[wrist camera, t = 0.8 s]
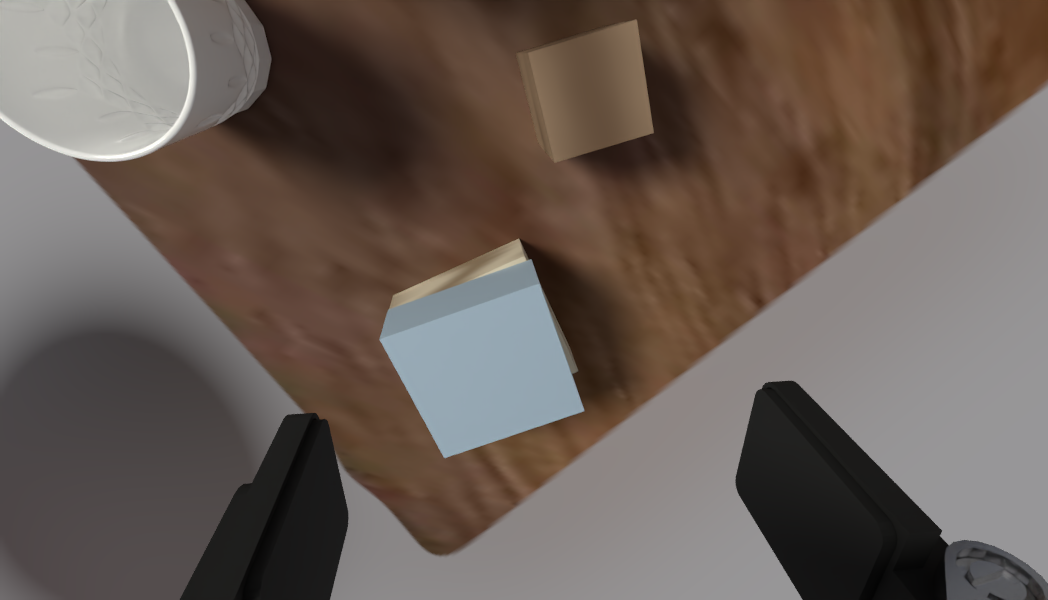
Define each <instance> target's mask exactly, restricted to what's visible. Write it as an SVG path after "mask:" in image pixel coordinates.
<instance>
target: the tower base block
mask: <svg viewBox="0 0 1048 600" xmlns="http://www.w3.org/2000/svg"><path fill="white" fill-rule="evenodd" d="M528 260H529V259H528V257H527V254H526V252H525V250H524V248H523V246H522V244H521V242H520V239H517V240H515V241H513V242H510V243H508V244H506V245H504V246H502V247H499V248H497V249H495V250H493V251H491V252H488V253H486V254H484V255H482V256H479V257H477V258H475V259H473V260H471V261H468V262H466V263H464V264H462V265H460V266H457V267H455V268H453V269H451V270H449V271H446V272H444V273H442V274H440V275H437V276H435V277H433V278H431V279H429V280H426V281H424V282H422V283H420V284H418V285H415V286H413V287H411V288H409V289H407V290H404V291H402V292H400V293H398V294H396V295H393V298H392V302H391V305H390V309H391V308H394V307H397V306H400V305H403V304H406V303H408V302H411V301H414V300H417V299H420V298H423V297H426V296H428V295H431V294H434V293H437V292H440V291H443V290H445V289H448V288H451V287H454V286H457V285H460V284H462V283H465V282H468V281H471V280H474V279H477V278H479V277H482V276H485V275H488V274H491V273H494V272H496V271H499V270H502V269H505V268H508V267H511V266H513V265H516V264H519V263H522V262H525V261H528ZM541 288H542V287H541ZM542 291H543V289H542ZM543 293H544V291H543ZM544 296H545V299H546V302H547V305H548V308H549V310H550V313H551V316H552V319H553V322H554V325H555V327H556V330H557V333H558V336H559V339H560V342H561V344H562V347H563V350H564V353H565V356H566V359H567V361H568V364H569V367H570V370H571V373H572V374H573V373H576V372H578V369H577V366H576V363H575V360H574V358H573V355H572V352H571V350H570V347H569V345H568V343H567V340H566V338H565V336H564V334H563V332H562V330H561V328H560V325H559V323H558V321H557V319H556V317H555V315H554V312H553V310H552V308H551V306H550V304H549V302H548V300H547V297H546V295H545V293H544Z"/></svg>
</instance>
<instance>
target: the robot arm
mask: <svg viewBox="0 0 1048 600" xmlns="http://www.w3.org/2000/svg"><path fill="white" fill-rule="evenodd" d="M736 488H737V491H738V494H739V496H740V497H741V499H742V501H743V502H744V504H745V505H746V507H747V509H748V510H749V512H750V514H751V515H752V517H753V519H754V520H755V522H756V524H757V525H758V527H759V529H760V530H761V532H762V534H763V535H764V537H765V538H766V540H767V542H768V543H769V545H770V547H771V548H772V550H773V552H774V553H775V555H776V556H777V558H778V560H779V561H780V563H781V565H782V566H783V568H784V570H785V571H786V573H787V575H788V576H789V578H790V580H791V581H792V583H793V584H794V586H795V588H796V589H797V591H798V593H799V594H800V596H801V598H802V599H803V600H1048V583H1047V582H1046V581H1045V580H1044V579H1043V577H1042V576H1041V575H1039V574H1038V573H1037V572H1036V571H1035V570H1034V569H1032V568H1031V567H1030V566H1029V565H1028V564H1026V563H1025V562H1023V561H1021V560H1020V559H1018V558H1017V557H1015V556H1013V555H1012V554H1009V553H1008V552H1005V551H1003V550H1001V549H999V548H997V547H995V546H992V545H988V544H985V543H982V542H978V541H968V540H962V541H957V542H953V543H952V544H951V545H948V544H947V543H946V542H945V541H944V540H943V539H942V538H941V537H940V534H941V532H942V530H941V529H940V528H939V527H938V526H937V525H936V524H935V523H934V522H933V521H932V520H931V519H930V518H929V517H928V516H927V515H926V514H925V513H924V512H923V511H922V510H921V509H920V508H919V507H918V506H917V505H916V504H915V503H914V502H913V501H912V500H911V499H910V498H909V497H908V496H907V495H906V494H905V493H904V492H903V491H902V489H901V488H900V487H899V486H898V485H897V484H896V483H894V481H893V480H892V479H891V478H890V477H889V476H888V475H887V474H886V473H885V472H884V471H883V470H882V469H881V468H880V467H879V466H878V465H877V464H876V463H875V462H874V461H873V460H872V459H871V458H870V457H869V456H868V455H867V454H866V453H865V452H864V451H863V450H862V449H861V448H860V447H859V446H858V445H857V444H856V443H855V442H854V441H853V440H852V439H851V438H850V437H849V435H847V433H846V432H845V431H844V430H843V429H842V428H841V427H840V426H839V425H838V424H837V423H836V422H835V421H834V420H833V419H832V418H831V417H830V416H829V415H828V414H827V413H826V412H825V411H824V410H823V409H822V408H821V407H820V406H819V405H818V404H817V403H816V402H815V401H814V400H813V399H812V398H811V397H810V396H809V395H808V394H807V393H806V392H805V391H804V390H803V389H802V388H801V387H800V386H799V385H798V384H797V383H796V382H794V381H782V382H781V381H780V382H768V383H765V384H764V385H763V388H762V389H760V390H758V391H757V392H756V395H755V398H754V403H753V407H752V411H751V415H750V419H749V424H748V428H747V432H746V436H745V441H744V445H743V449H742V453H741V457H740V462H739V466H738V470H737V475H736ZM347 527H348V509H347V504H346V500H345V496H344V491H343V487H342V482H341V478H340V473H339V469H338V464H337V460H336V455H335V451H334V446H333V442H332V437H331V433H330V428H329V424H328V421H327V420H326V419H322V420H319V417H318V415H317V414H316V413H306V414H292V415H287V416H286V417H285V418H284V419H283V421H282V423H281V425H280V427H279V429H278V431H277V433H276V436H275V438H274V440H273V442H272V444H271V446H270V448H269V450H268V452H267V454H266V456H265V458H264V460H263V462H262V464H261V466H260V468H259V470H258V472H257V474H256V476H255V478H254V480H253V483H250V484H243V485H242V486H240V487H239V488H238V490H237V491H236V493H235V494H234V496H233V498H232V500H231V502H230V504H229V506H228V508H227V510H226V511H225V513H224V515H223V517H222V519H221V521H220V523H219V525H218V527H217V529H216V531H215V533H214V535H213V537H212V538H211V541H210V542H209V544H208V546H207V548H206V550H205V552H204V554H203V556H202V558H201V560H200V562H199V563H198V566H197V567H196V570H195V571H194V573H193V575H192V577H191V579H190V581H189V583H188V585H187V587H186V589H185V590H184V592H183V595H182V596H181V598H180V600H330V597H331V593H332V588H333V584H334V580H335V576H336V572H337V568H338V564H339V560H340V556H341V552H342V548H343V544H344V540H345V536H346V532H347Z"/></svg>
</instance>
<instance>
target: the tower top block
mask: <svg viewBox="0 0 1048 600" xmlns="http://www.w3.org/2000/svg"><path fill="white" fill-rule="evenodd" d="M380 341H381V343H382V345H383V347H384V348H385V350H386V352H387V354H388V356H389V358H390V359H391V361H392V363H393V365H394V367H395V369H396V370H397V372H398V374H399V376H400V378H401V379H402V381H403V383H404V385H405V387H406V389H407V390H408V392H409V394H410V396H411V398H412V400H413V401H414V403H415V405H416V407H417V409H418V411H419V412H420V414H421V416H422V418H423V420H424V422H425V423H426V425H427V427H428V429H429V431H430V433H431V434H432V436H433V438H434V440H435V442H436V444H437V445H438V447H439V449H440V451H441V453H442V455H443V456H444V458H446V457H449V456H452V455H455V454H458V453H461V452H464V451H467V450H470V449H473V448H476V447H479V446H482V445H485V444H488V443H491V442H494V441H497V440H500V439H503V438H506V437H509V436H512V435H515V434H518V433H521V432H524V431H527V430H530V429H533V428H536V427H539V426H542V425H545V424H548V423H551V422H554V421H557V420H559V419H562V418H565V417H568V416H571V415H574V414H577V413H580V412H583V411H584V408H583V405H582V402H581V399H580V396H579V393H578V390H577V387H576V384H575V381H574V379H573V376H572V373H571V370H570V367H569V364H568V361H567V359H566V356H565V353H564V350H563V347H562V344H561V342H560V339H559V336H558V333H557V330H556V327H555V325H554V322H553V319H552V316H551V313H550V310H549V308H548V305H547V302H546V299H545V296H544V293H543V291H542V288H541V285H540V282H539V279H538V276H537V274H536V271H535V268H534V265H533V262H532V259H530V260H528V261H525V262H522V263H519V264H516V265H513V266H511V267H508V268H505V269H502V270H499V271H496V272H494V273H491V274H488V275H485V276H482V277H479V278H477V279H474V280H471V281H468V282H465V283H462V284H460V285H457V286H454V287H451V288H448V289H445V290H443V291H440V292H437V293H434V294H431V295H428V296H426V297H423V298H420V299H417V300H414V301H411V302H408V303H406V304H403V305H400V306H397V307H394V308H391V309H389V310H388V312H387V315H386V319H385V322H384V326H383V329H382V333H381V336H380Z"/></svg>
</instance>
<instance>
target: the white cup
mask: <svg viewBox="0 0 1048 600" xmlns="http://www.w3.org/2000/svg"><path fill="white" fill-rule="evenodd" d="M271 60H272V58H271V54H270V50H269V46H268V43H267V39H266V35H265V31H264V27H263V25H262V24H261V22H260V21H259V19H258V18H257V17H256V15H255V14H254V12H253V11H252V10H251V8H250V7H249V5H248V4H247V3H246V1H245V0H0V119H1V120H3V121H4V122H5V123H7V124H8V125H9V126H11V127H12V128H13V129H15V130H16V131H18V132H19V133H21V134H22V135H24V136H26V137H27V138H29V139H31V140H33V141H34V142H36V143H38V144H40V145H42V146H44V147H47V148H49V149H52V150H54V151H57V152H59V153H62V154H65V155H68V156H72V157H76V158H80V159H85V160H92V161H102V162H115V161H125V160H131V159H135V158H139V157H142V156H145V155H147V154H150V153H152V152H154V151H157V150H159V149H161V148H164V147H166V146H169V145H171V144H173V143H176V142H178V141H181V140H183V139H186V138H188V137H190V136H193V135H195V134H198V133H200V132H203V131H205V130H207V129H209V128H211V127H213V126H215V125H217V124H219V123H221V122H223V121H225V120H227V119H228V118H230V117H231V116H232V115H234V114H236V113H238V112H241V111H244V110H247V109H249V108H250V106H251V105H252V104H253V103H254V102H255V101H256V99H257V98H258V97H259V96H260V95H261V94H262V92H263V91H264V90H265V89H266V86H267V81H268V76H269V71H270V65H271Z"/></svg>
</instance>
